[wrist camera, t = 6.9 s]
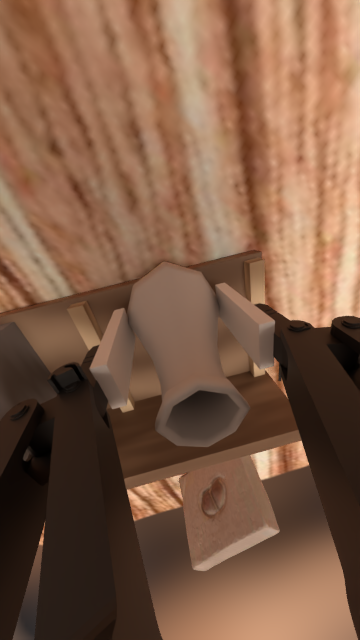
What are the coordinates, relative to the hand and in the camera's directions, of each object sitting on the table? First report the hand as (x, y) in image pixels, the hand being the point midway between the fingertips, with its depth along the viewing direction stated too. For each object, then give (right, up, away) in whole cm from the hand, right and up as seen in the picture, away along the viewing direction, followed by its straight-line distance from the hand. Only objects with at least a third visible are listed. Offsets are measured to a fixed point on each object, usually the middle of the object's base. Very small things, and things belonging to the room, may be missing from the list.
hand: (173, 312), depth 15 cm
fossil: (+5, -23, +16) cm, 29 cm away
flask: (0, 0, +1) cm, 1 cm away
